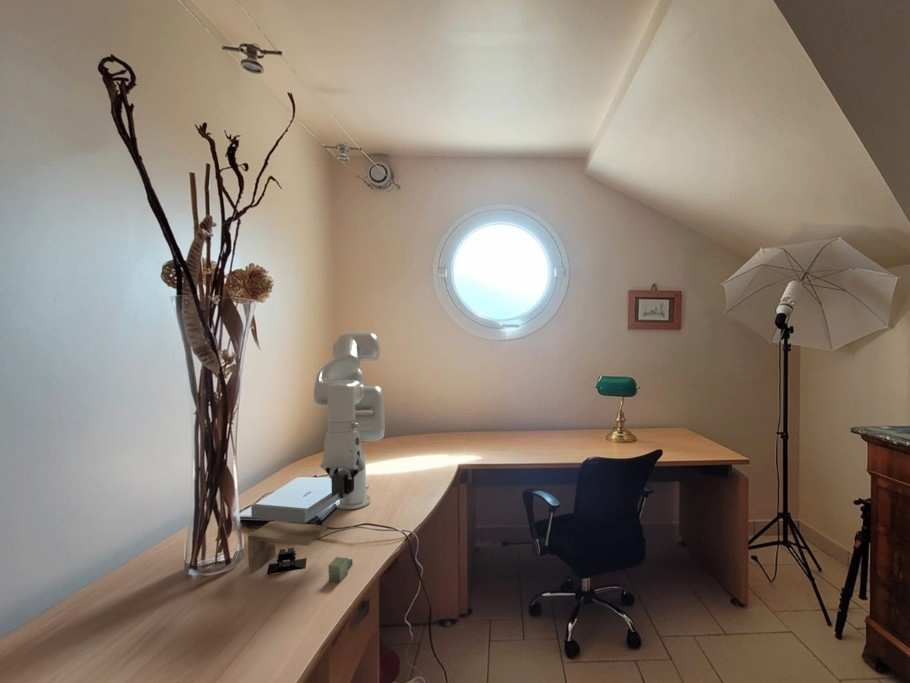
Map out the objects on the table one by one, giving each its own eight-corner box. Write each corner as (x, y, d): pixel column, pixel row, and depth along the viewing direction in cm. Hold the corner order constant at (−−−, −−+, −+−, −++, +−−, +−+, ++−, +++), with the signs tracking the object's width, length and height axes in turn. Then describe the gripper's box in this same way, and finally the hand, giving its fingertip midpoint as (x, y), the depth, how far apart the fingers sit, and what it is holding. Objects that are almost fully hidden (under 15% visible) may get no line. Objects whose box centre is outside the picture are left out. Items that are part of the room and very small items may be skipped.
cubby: (271, 555, 117) (270, 520, 117) (328, 561, 113) (327, 525, 113) (248, 573, 108) (248, 535, 108) (309, 580, 104) (308, 541, 104)
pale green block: (344, 564, 111) (344, 549, 111) (355, 565, 111) (354, 550, 111) (328, 581, 103) (328, 565, 103) (340, 583, 103) (339, 566, 103)
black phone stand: (312, 558, 116) (312, 541, 116) (311, 572, 109) (311, 554, 109) (262, 565, 113) (262, 548, 112) (258, 580, 106) (258, 561, 106)
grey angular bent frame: (305, 487, 127) (305, 467, 127) (353, 490, 123) (353, 470, 123) (251, 517, 105) (251, 493, 105) (307, 523, 101) (307, 498, 101)
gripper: (374, 425, 122) (375, 489, 122) (323, 423, 126) (324, 485, 126) (362, 430, 115) (363, 498, 115) (308, 428, 119) (309, 494, 119)
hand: (342, 491), depth 120 cm, fingers closed on grey angular bent frame, 3 cm apart
